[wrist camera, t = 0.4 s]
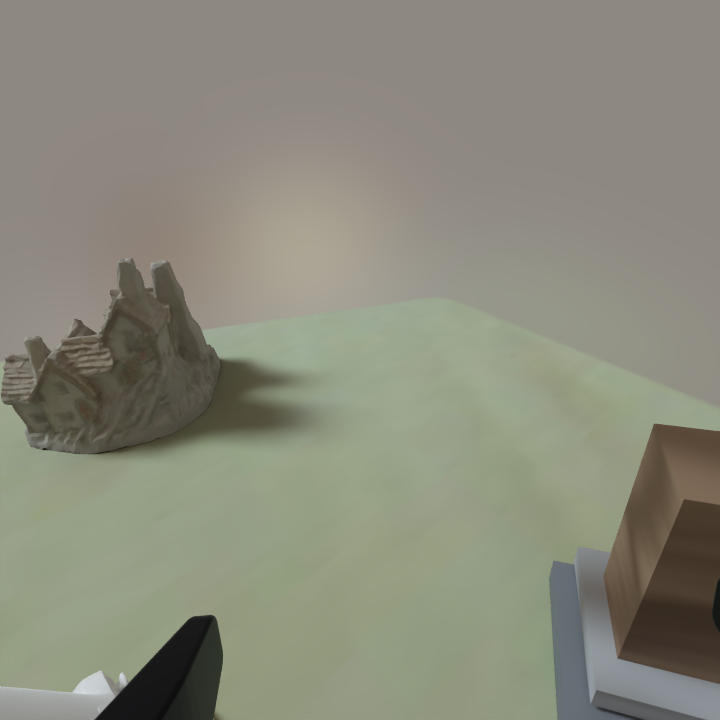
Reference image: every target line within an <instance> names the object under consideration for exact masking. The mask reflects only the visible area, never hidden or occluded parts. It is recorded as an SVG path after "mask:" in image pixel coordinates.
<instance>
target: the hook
mask: <svg viewBox="0 0 720 720" xmlns="http://www.w3.org/2000/svg"><path fill="white" fill-rule="evenodd" d="M119 679H120V682H118V683H117V684H116V685H115V684H114V682H113V681H112V679H111V677H107V676H105V674H104V673H103V671H102V670H100V671H98V672H96V673H94V674H92V675H90V676H89V677H87V678H85V679H83V680H82V681H81V682H80V683H79V684H78V686H77V687H76V688H75V689H74V691H73V692H72V693H69V692H58V691H46V690H35V689H24V688H13V687H2V686H0V720H94V719H95V718H96V717H97V716H98V715H99V714H100V713H101V712H102V711H103V710H104V709H105V708H106V707H107V705H108V704H109V703H110V702H111V701H112V700H113V699H114V698H115V697H116V696H117V695H118V694H119V693H120V692H121V691H122V690H123V688H124V687H125V686H126V685H127V684H128V683H129V681H128V680H127V678H126V676H125V674H124V673H121V674H120V676H119ZM213 720H215V719H214V718H213Z"/></svg>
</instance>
